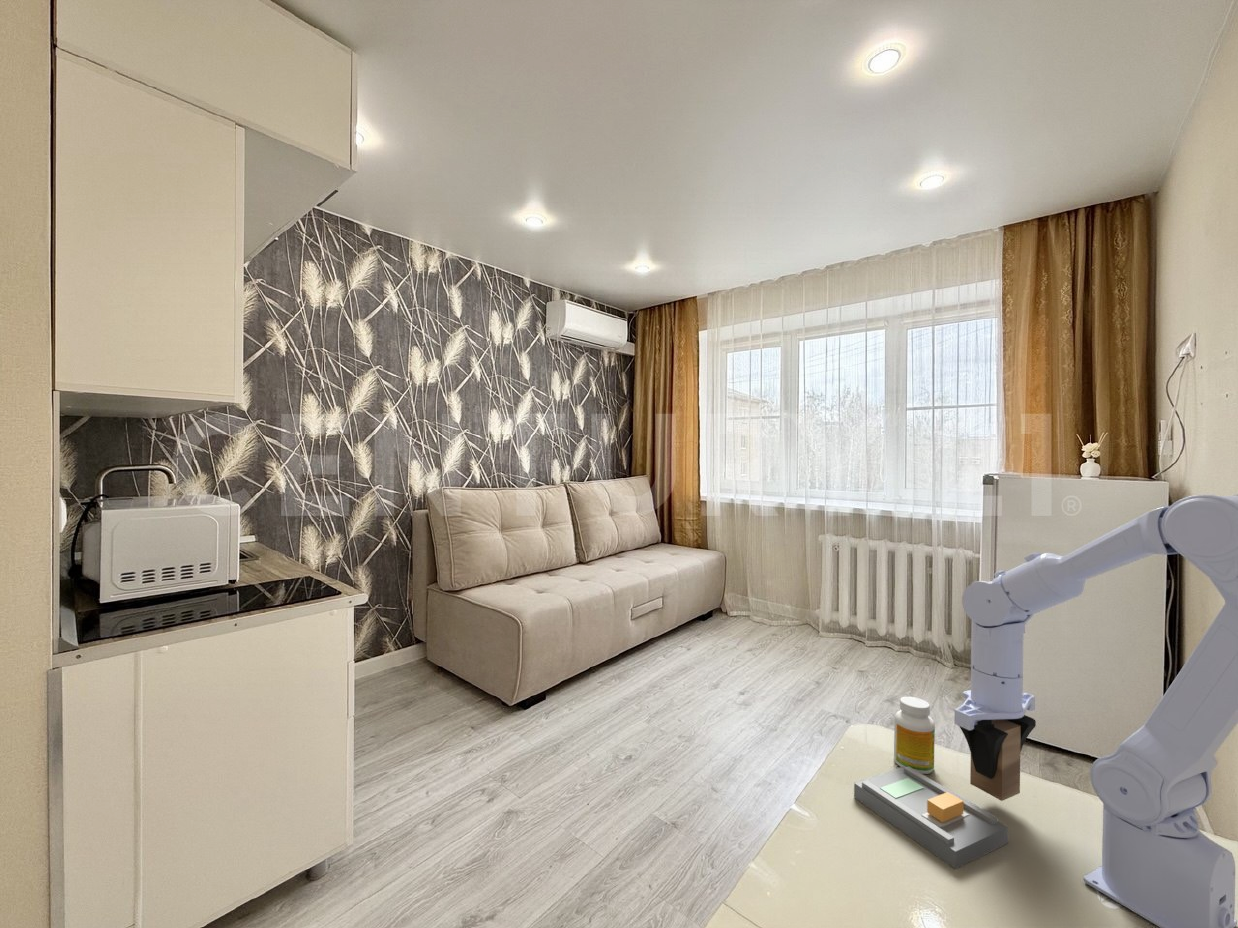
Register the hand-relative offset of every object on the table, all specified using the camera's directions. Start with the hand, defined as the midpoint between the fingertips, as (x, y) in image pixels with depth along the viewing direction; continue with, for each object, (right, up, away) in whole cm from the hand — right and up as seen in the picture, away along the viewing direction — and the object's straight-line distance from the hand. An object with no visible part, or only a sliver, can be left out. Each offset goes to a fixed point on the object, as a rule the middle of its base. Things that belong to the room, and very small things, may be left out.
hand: (995, 770), depth 71 cm
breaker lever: (-10, -2, -5) cm, 11 cm away
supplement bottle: (-6, -5, +10) cm, 12 cm away
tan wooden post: (0, -2, 0) cm, 2 cm away
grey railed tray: (-11, -5, -3) cm, 12 cm away
